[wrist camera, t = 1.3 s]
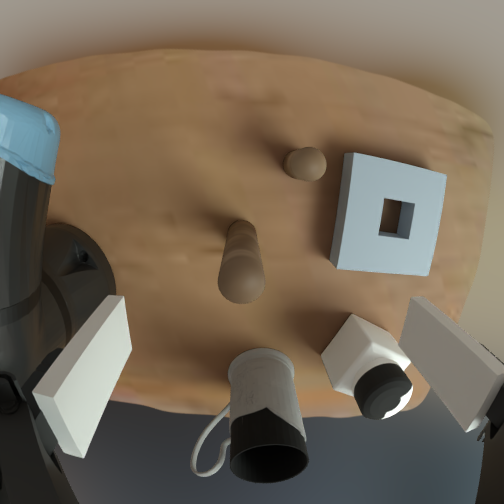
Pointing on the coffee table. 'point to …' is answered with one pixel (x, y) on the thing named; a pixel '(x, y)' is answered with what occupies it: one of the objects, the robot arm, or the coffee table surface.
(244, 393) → the grey black mug
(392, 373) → the medicine bottle
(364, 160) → the collar plate
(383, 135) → the coffee table surface
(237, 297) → the long pin
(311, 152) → the short pin
